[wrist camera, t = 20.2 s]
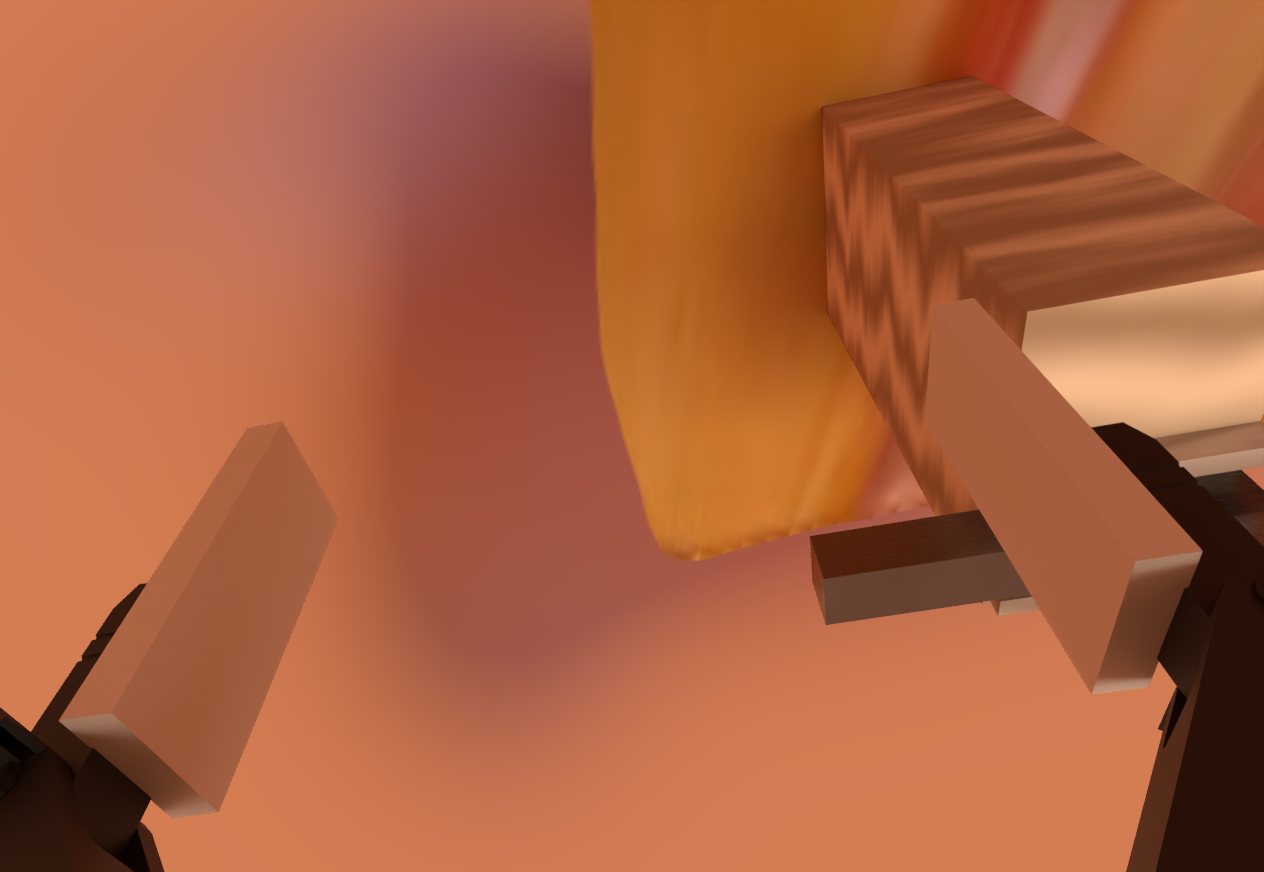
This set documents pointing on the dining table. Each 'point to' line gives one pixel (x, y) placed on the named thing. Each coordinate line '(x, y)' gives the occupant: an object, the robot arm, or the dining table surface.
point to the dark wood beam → (952, 559)
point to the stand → (1040, 275)
